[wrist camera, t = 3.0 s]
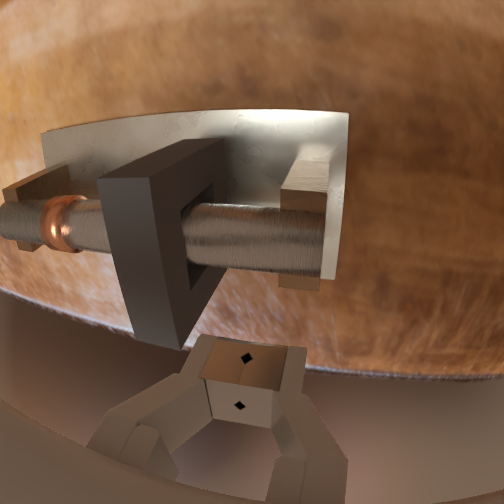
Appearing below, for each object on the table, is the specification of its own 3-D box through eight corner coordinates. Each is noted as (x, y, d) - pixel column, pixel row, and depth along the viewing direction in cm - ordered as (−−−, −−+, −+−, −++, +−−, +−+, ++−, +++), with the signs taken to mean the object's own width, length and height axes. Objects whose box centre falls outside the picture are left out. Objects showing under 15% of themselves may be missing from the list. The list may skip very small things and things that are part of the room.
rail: (348, 112, 17) (359, 128, 10) (334, 273, 22) (329, 360, 15) (46, 131, 22) (-28, 159, 15) (69, 243, 27) (11, 290, 20)
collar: (223, 138, 17) (149, 177, 10) (230, 263, 21) (180, 350, 14) (184, 138, 18) (96, 178, 11) (195, 259, 21) (136, 340, 15)
